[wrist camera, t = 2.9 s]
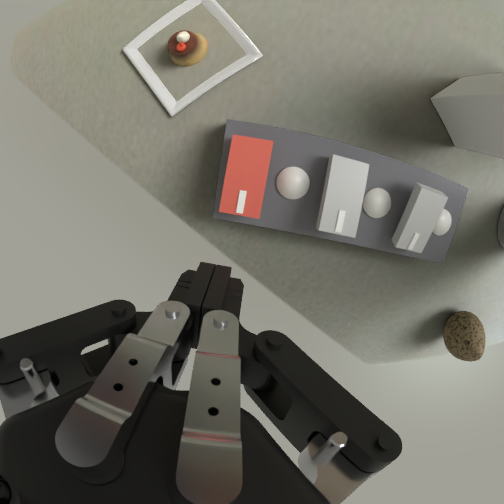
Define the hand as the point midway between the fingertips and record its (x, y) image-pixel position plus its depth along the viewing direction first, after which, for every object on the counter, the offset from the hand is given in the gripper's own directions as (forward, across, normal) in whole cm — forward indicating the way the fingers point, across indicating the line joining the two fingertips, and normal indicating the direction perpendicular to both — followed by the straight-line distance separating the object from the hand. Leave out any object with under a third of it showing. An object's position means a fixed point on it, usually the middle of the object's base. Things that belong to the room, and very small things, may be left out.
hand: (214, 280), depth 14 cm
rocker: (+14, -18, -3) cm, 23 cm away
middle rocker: (+14, -9, -3) cm, 17 cm away
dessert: (+20, +9, -16) cm, 27 cm away
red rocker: (+14, 0, -3) cm, 14 cm away
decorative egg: (+19, -38, +12) cm, 44 cm away
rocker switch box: (+19, -11, -3) cm, 22 cm away
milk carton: (+19, -24, -17) cm, 36 cm away
